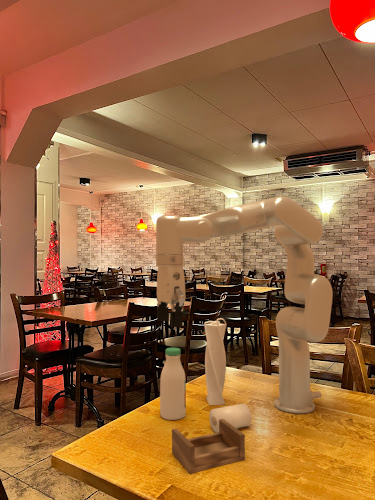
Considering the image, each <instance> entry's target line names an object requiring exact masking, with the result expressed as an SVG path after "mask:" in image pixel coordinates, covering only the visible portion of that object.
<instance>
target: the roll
mask: <svg viewBox="0 0 375 500" xmlns="http://www.w3.org/2000/svg"><path fill="white" fill-rule="evenodd" d="M208 414H209V415H208V416H209V418H208V419H209V424H210V427H211V429H212V431H213V432H214V433H218V432H219V420H220V419H224V420H225V421H227V422H228V423H230V424H231V425H232V426H234V427H235V428H236V429H241V428H244V427H249V426H250V425H251V423H252V414H251V410H250V408H249V406H248V405H247V404H246V403H238V404H234V405H229V406H223V407H222V406H221V407H217V408H211V409H210V411H209V413H208Z"/></svg>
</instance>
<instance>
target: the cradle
mask: <svg viewBox="0 0 375 500" xmlns="http://www.w3.org/2000/svg"><path fill="white" fill-rule="evenodd" d="M245 441H246V435H245V434H244V433H243V432H242V431H241V430H239V428H237V429H236V428H235V427H234V426H232V425H231V424H230V423H228V422H227V421H225V420H224V419H220V420H219V432H218V433H216V432H214V433H209V434H205V435H200V436H196V437H191V438H187V437H186V436H185V435H184V434H183V433H182V432H181V431H180V430H179V429H178V428H172V429H171V454H172V455H173V457H174V458H175V459H176V460H177V461H178V462H179V463H180V465H182V467H183V468H184V469H185V471H186V472H188V473H189V475H190V474H195V473H197V472H202V471H206V470H210V469H214V468H217V467H221V466H225V465H228V464H232V463H236V462H240V461H245V460H246V456H245V455H246V452H245V451H246V450H245V449H246V444H245V443H246V442H245Z"/></svg>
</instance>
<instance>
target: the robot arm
mask: <svg viewBox="0 0 375 500" xmlns="http://www.w3.org/2000/svg"><path fill="white" fill-rule="evenodd" d="M155 225H156V226H155V229H156V230H155V234H156V236H155V238H156V239H155V246H156V247H155V254H156V255H155V267H157V274H156V275H157V279H156V301H157V303H156V306H157V310H156V311H157V312H156V313H157V314H156V315H157V316H156V317H157V320H156V321H157V322H159V323H160V322H162V323H163V322H169V319H170V327H171V328H179V327H183V325H184V324H183V320H184V319H183V318H184V317H183V316H184V315H183V314H184V313H183V311H184V306H185V302H186V282H185V281H186V279H185V270H184V247H185V246H184V245H191V244H201V243H205V242H207V241H209V240H210V239H213V238H218V237H230V236H235V235H236V236H237V235H242V234H245V233H248V232H249V233H250V232H253V231H258V230H261V229H266V228H269V227H274V235H275V238H276V240H277V241H278V243H279V244H280V245H281V246H282V248H283V249H284V251H285V254H286V258H287V262H286V272H285V279H284V287H283V288H284V289H283V291H284V296H285V299H286V300H288V301H290V302H292V303H295V304H300V305H304V308H303V307H297V306H285V307H282V309H281V310H279V311H278V312H277V315H276V317H275V328H276V333H277V334H276V335H277V338H278V376H279V377H278V382H279V383H278V395H279V396H278V397H277V398H275V399H274V400H273V401H274V403H273V404H274V406H275V408H277V409H278V410H280V411H282V412H286V413H291V414H308V413H312V412H314V411H315V410H316V404H315V402H314V401H313V400H315V399H318V398H321V397H322V393H321V391H312V390H311V381H310V379H311V375H310V374H311V371H310V370H311V368H310V366H311V365H310V364H311V363H310V362H311V361H310V359H311V358H310V357H311V356H310V355H311V353H310V347H309V344H308V343H309V342H311V343H319V342H322V341H323V340H324V339H325V338H326V336H327V334H328V333H329V330H330V329H329V327H330V322H331V314H332V304H333V293H334V292H333V288H332V284H331V282H330V281H329V279H327V277H326V276H323V275H320V274H315V256H314V255H315V254H314V252H313V250H312V248H311V246H310V245H313V244H315V243H317V242H318V241H319V240H320V239H321V238H322V235H323V227H322V224H321V222H320V221H319V219H318V218H317V217H315V215H313V214H312V213H311V212H309V211H308V210H307V209H305V208H304V207H303V206H301V205H300V204H299V203H297V201H296V202H295V200H293V199H291V198H289V197H287V196H282V195H281V196H277V197H272V198H267V199H262V200H258V201H252V202H249V203H243V204H238V205H233V206H230V207H226V208H222V209H220V210H217V211H214V212H210V213H206V214H200V215H195V216H183V217H182V216H179V215H178V216H177V215H161V216H158V218H157V219H156V223H155ZM168 305H169V306H170V308H171V311H170V317H169V306H168Z"/></svg>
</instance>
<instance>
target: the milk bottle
mask: <svg viewBox="0 0 375 500" xmlns="http://www.w3.org/2000/svg"><path fill="white" fill-rule="evenodd" d="M164 352H165V362H164V366H163V367H162V371H161V374H160V379H159V380H160V381H159V382H160V383H159V384H160V385H159V387H160V388H159V389H160V390H159V392H160V393H159V394H160V395H159V398H160V399H159V407H160V408H159V409H160V411H159V412H160V413H159V414H160V417H161V418H162V419H165V420H168V421H175V420H176V421H177V420H182V419H183V418H184V417H186V415H187V412H186V411H187V400H186V398H187V396H186V395H187V393H186V391H187V390H186V388H187V386H186V385H187V384H186V373H185V370H184V368H183V365H182V361H181V348H178V347H167V348H166V349H165V351H164Z"/></svg>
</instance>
